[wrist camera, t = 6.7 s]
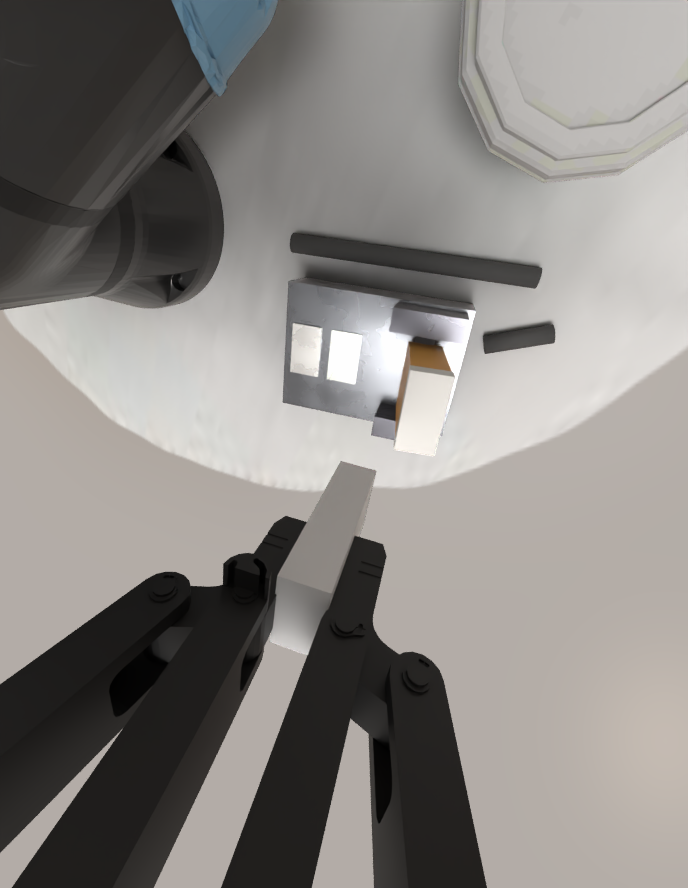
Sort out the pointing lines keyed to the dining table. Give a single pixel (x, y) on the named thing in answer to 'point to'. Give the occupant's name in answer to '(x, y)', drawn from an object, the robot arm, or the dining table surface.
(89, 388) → the dining table surface
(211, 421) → the dining table surface
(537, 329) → the dark grey peg
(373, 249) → the dark grey rod
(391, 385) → the labelled grey housing
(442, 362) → the lever
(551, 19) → the disposable coffee cup
